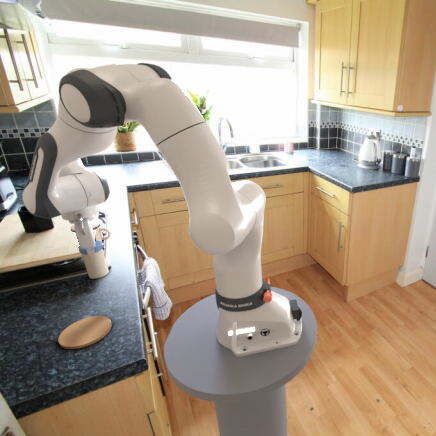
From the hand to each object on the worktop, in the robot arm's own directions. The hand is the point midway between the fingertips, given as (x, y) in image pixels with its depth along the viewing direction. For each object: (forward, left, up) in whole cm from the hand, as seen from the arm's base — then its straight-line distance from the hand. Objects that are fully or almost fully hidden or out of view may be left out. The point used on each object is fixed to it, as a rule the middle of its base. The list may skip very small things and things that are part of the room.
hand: (91, 249), depth 102 cm
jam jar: (0, 0, -9) cm, 9 cm away
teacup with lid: (+11, -20, -9) cm, 25 cm away
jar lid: (0, 0, +1) cm, 1 cm away
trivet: (-11, +28, -9) cm, 31 cm away
